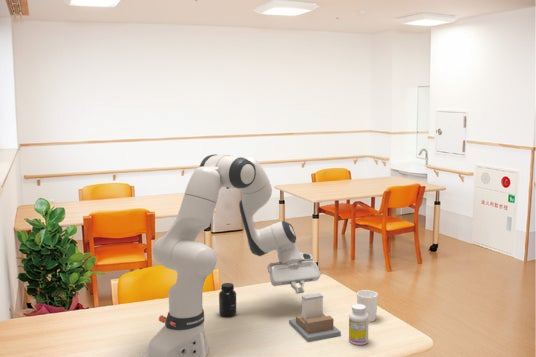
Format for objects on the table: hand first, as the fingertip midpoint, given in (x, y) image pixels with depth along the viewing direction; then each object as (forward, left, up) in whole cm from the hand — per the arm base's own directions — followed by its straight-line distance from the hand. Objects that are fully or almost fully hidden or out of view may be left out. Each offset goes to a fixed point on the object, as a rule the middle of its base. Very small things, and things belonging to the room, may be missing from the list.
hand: (300, 292), depth 206 cm
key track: (-4, -10, -10) cm, 15 cm away
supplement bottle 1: (-17, +23, -10) cm, 30 cm away
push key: (-4, -9, -8) cm, 13 cm away
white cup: (+17, -19, -10) cm, 27 cm away
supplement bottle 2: (-1, -28, -10) cm, 30 cm away
